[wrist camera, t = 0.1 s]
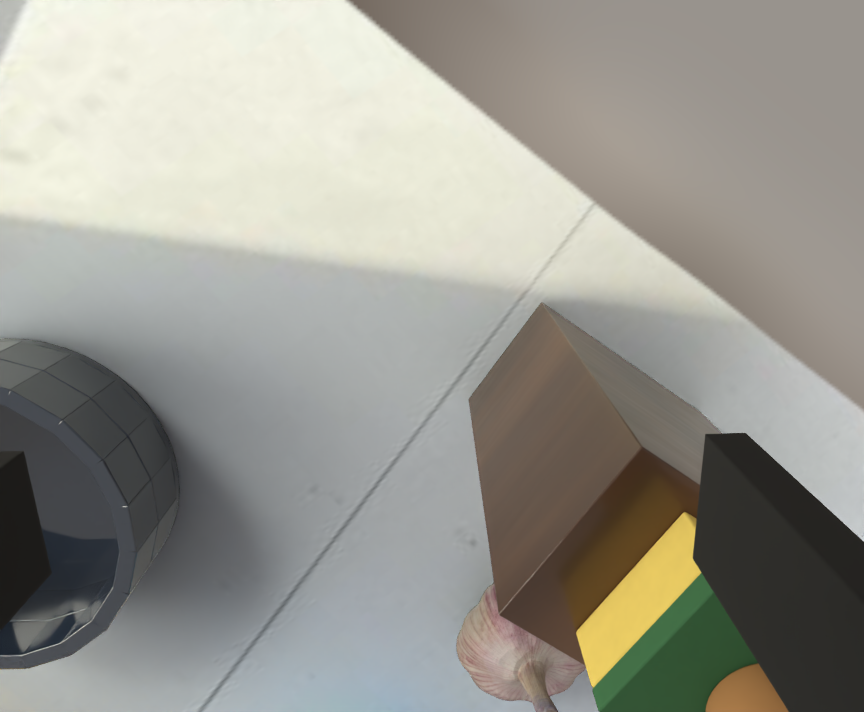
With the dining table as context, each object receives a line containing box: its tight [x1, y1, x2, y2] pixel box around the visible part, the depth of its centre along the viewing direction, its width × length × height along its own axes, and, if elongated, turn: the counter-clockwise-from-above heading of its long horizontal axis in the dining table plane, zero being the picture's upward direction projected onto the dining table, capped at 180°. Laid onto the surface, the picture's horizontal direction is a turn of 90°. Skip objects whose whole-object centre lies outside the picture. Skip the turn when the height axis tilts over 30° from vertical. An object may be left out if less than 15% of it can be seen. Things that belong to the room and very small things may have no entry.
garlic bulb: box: [456, 583, 586, 712], centre depth 33 cm, size 8×7×8 cm
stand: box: [469, 303, 722, 666], centre depth 26 cm, size 10×6×16 cm, turn 56°
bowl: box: [0, 338, 179, 669], centre depth 32 cm, size 15×15×6 cm
